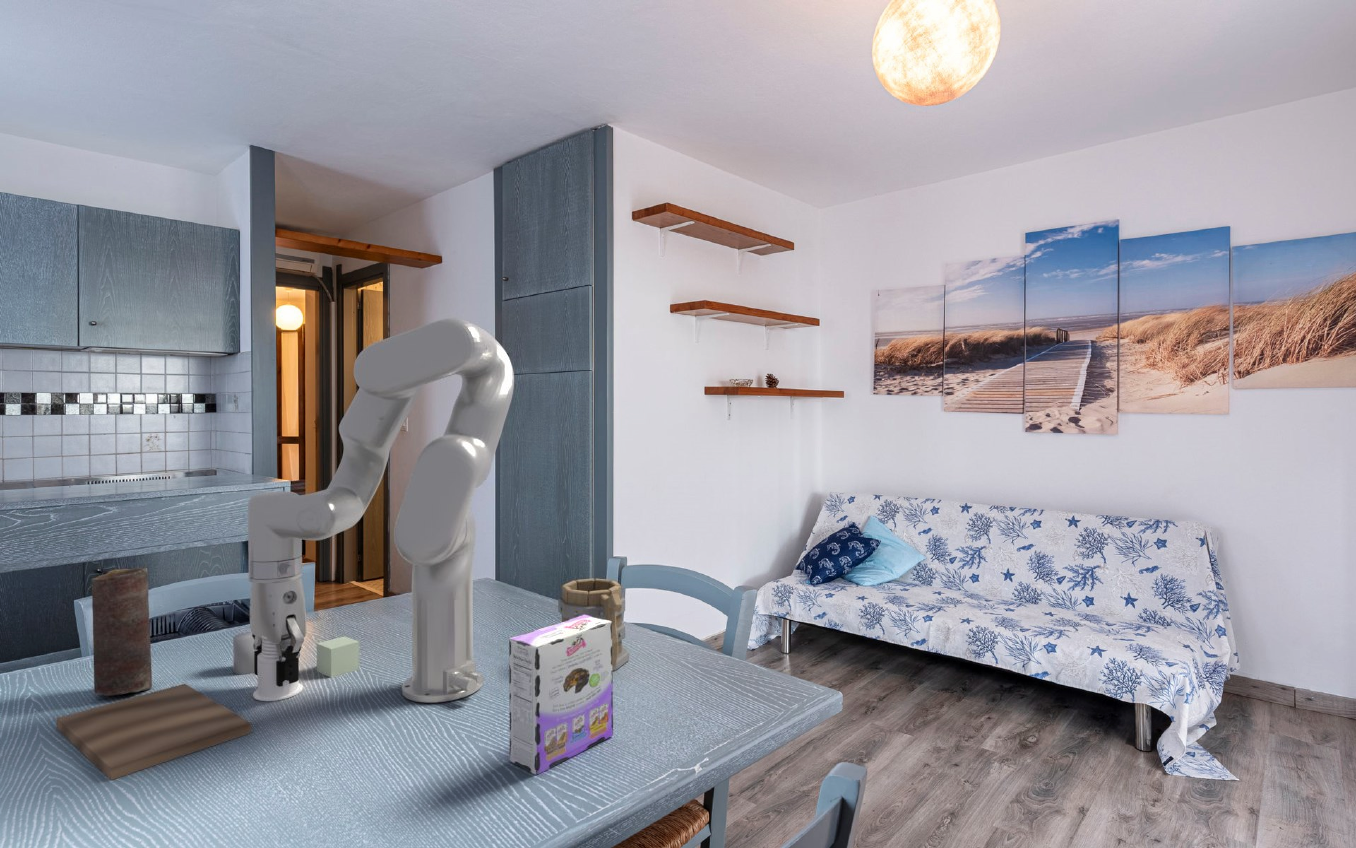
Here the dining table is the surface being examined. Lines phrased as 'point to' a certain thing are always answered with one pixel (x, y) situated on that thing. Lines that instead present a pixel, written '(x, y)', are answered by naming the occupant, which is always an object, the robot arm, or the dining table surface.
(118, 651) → the brown textured cylinder
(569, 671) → the candy box
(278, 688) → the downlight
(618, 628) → the tankard
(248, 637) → the grey rounded cylinder
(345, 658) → the sage block
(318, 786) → the dining table surface
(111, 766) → the walnut board
